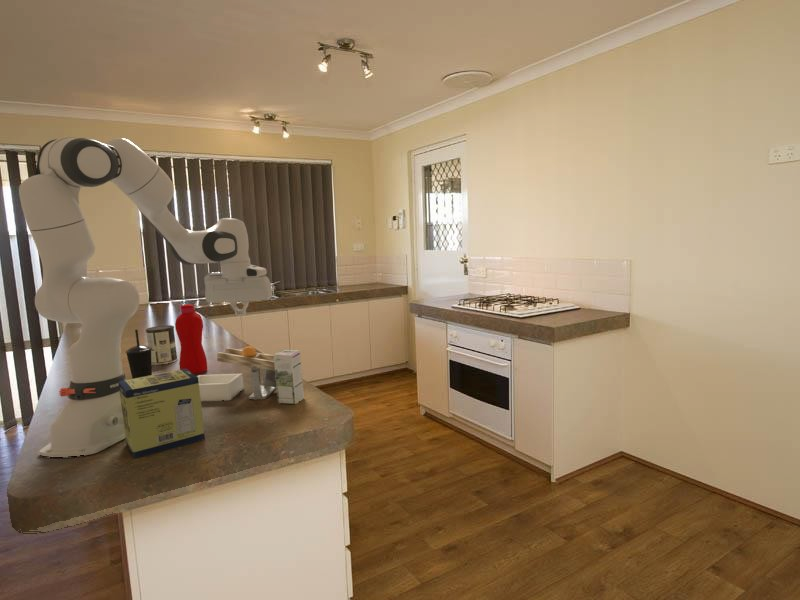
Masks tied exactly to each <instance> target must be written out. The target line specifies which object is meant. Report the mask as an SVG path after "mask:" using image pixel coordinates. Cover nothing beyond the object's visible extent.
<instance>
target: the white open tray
mask: <svg viewBox="0 0 800 600" xmlns="http://www.w3.org/2000/svg"><path fill="white" fill-rule="evenodd" d="M243 375H244V374H243V373H221V374H217V373H216V374H197V375H196V376H197V377H198V381H199V390H200V398H201V402H217V401H218V402H219V401H222V400H224V401H231V400H233V399H234V398H235V397H236V396H237V395H239V393H241V392H242V391H243V390H244V389H245V387H244V378H243V377H244V376H243ZM240 391H241V392H240ZM233 397H234V398H233Z"/></svg>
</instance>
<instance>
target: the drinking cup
mask: <svg viewBox="0 0 800 600" xmlns="http://www.w3.org/2000/svg"><path fill="white" fill-rule="evenodd" d="M134 331H135V340H136V341H135V342H136V345H133V346H131V347H130V348H128V349H126V350H125V354H126V356H127V361H128V365H129V369H130V374H131V379H135V378H140V377H145V376H150V375H153V373H152V370H153V369H152V366H153V365H152V363H151V350H152V347H149V346H148V345H145V344H140V339H139V338H140V337H139V332H138V331H139V330H138V329H135V330H134Z"/></svg>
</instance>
